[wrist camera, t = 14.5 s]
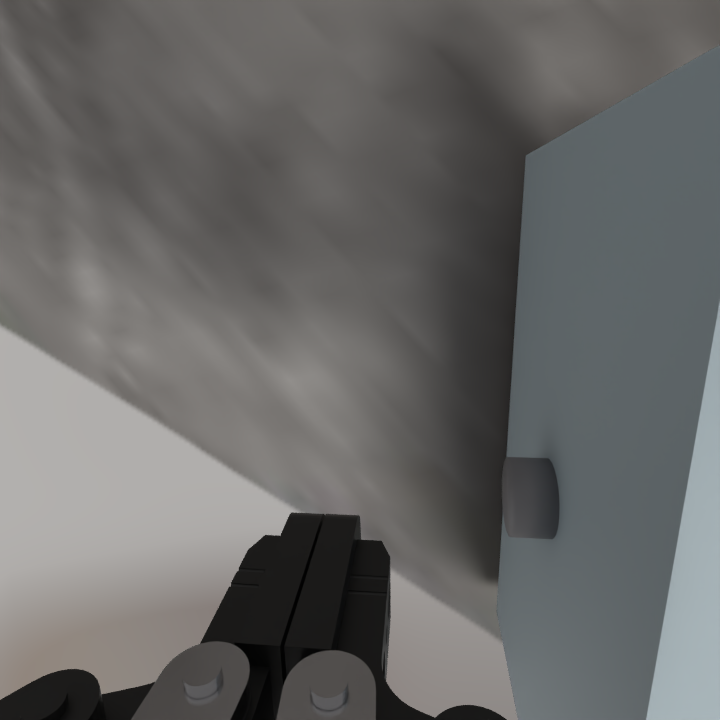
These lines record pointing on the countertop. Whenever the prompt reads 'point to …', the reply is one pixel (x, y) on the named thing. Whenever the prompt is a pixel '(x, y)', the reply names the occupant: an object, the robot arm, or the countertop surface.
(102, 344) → the countertop surface
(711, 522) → the drawer
